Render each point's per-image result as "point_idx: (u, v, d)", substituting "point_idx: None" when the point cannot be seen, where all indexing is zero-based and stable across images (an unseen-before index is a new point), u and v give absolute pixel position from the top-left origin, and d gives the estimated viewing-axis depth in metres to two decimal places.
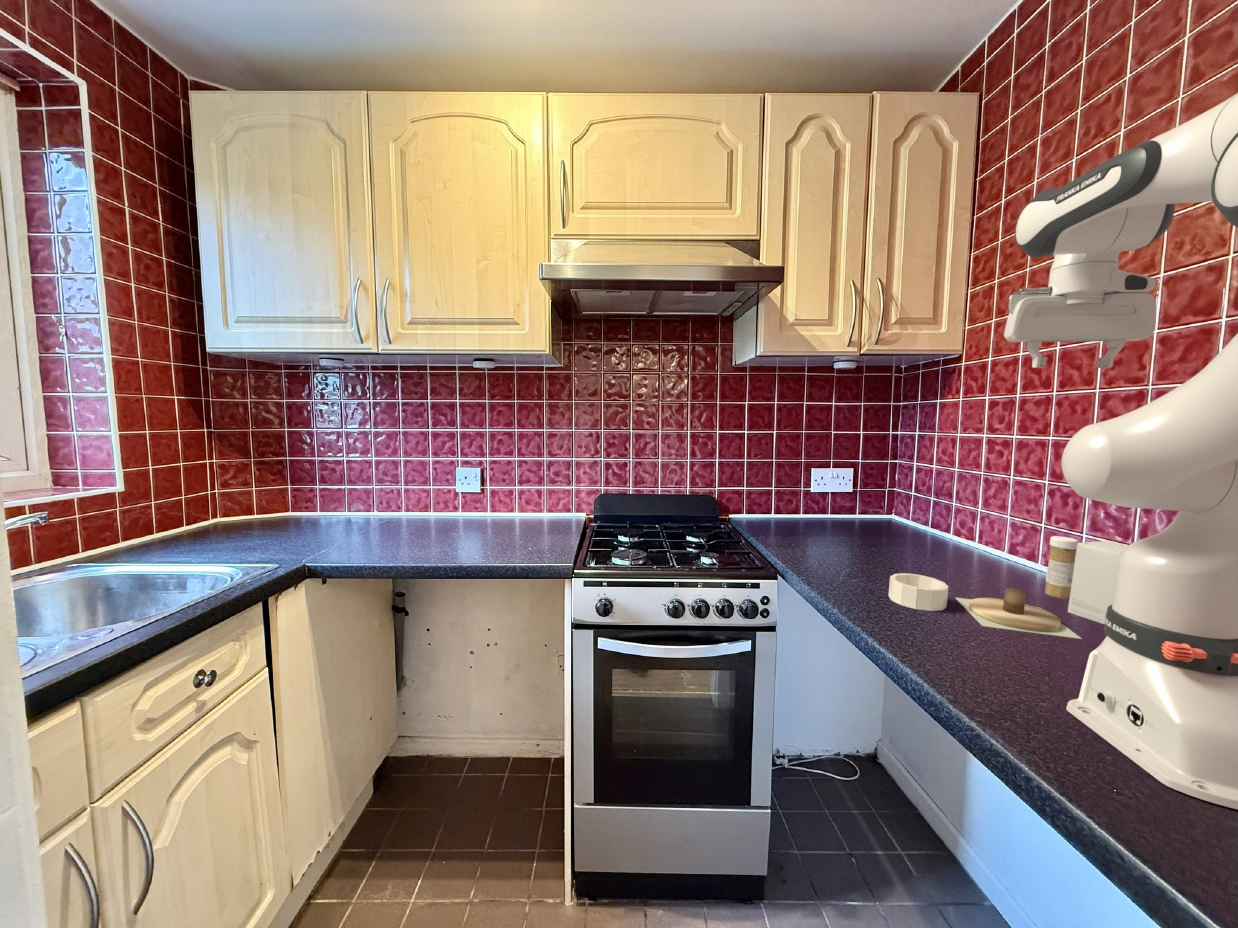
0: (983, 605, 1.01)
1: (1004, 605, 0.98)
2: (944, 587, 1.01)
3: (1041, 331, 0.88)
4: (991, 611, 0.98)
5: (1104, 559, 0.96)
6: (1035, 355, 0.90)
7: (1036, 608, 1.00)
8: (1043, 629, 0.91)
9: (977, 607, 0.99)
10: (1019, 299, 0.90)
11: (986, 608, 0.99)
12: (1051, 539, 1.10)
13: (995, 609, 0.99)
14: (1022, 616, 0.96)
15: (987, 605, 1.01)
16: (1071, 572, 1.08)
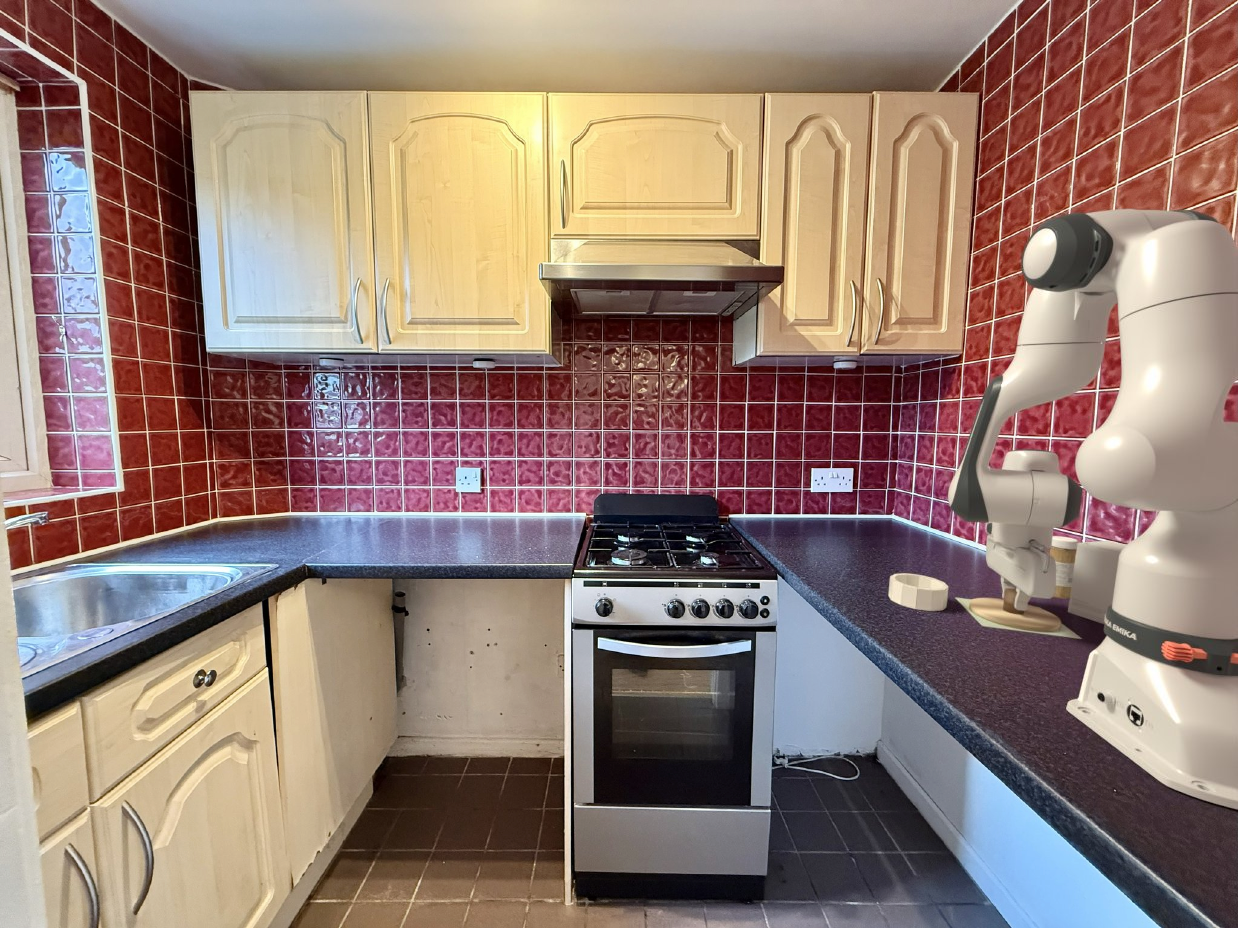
0: (983, 605, 1.01)
1: (1004, 605, 0.98)
2: (944, 587, 1.01)
3: None
4: (991, 611, 0.98)
5: (1104, 559, 0.96)
6: (1028, 600, 0.94)
7: (1036, 608, 1.00)
8: (1043, 629, 0.91)
9: (977, 607, 0.99)
10: None
11: (986, 608, 0.99)
12: None
13: (995, 609, 0.99)
14: (1022, 616, 0.96)
15: (987, 605, 1.01)
16: (1071, 572, 1.08)
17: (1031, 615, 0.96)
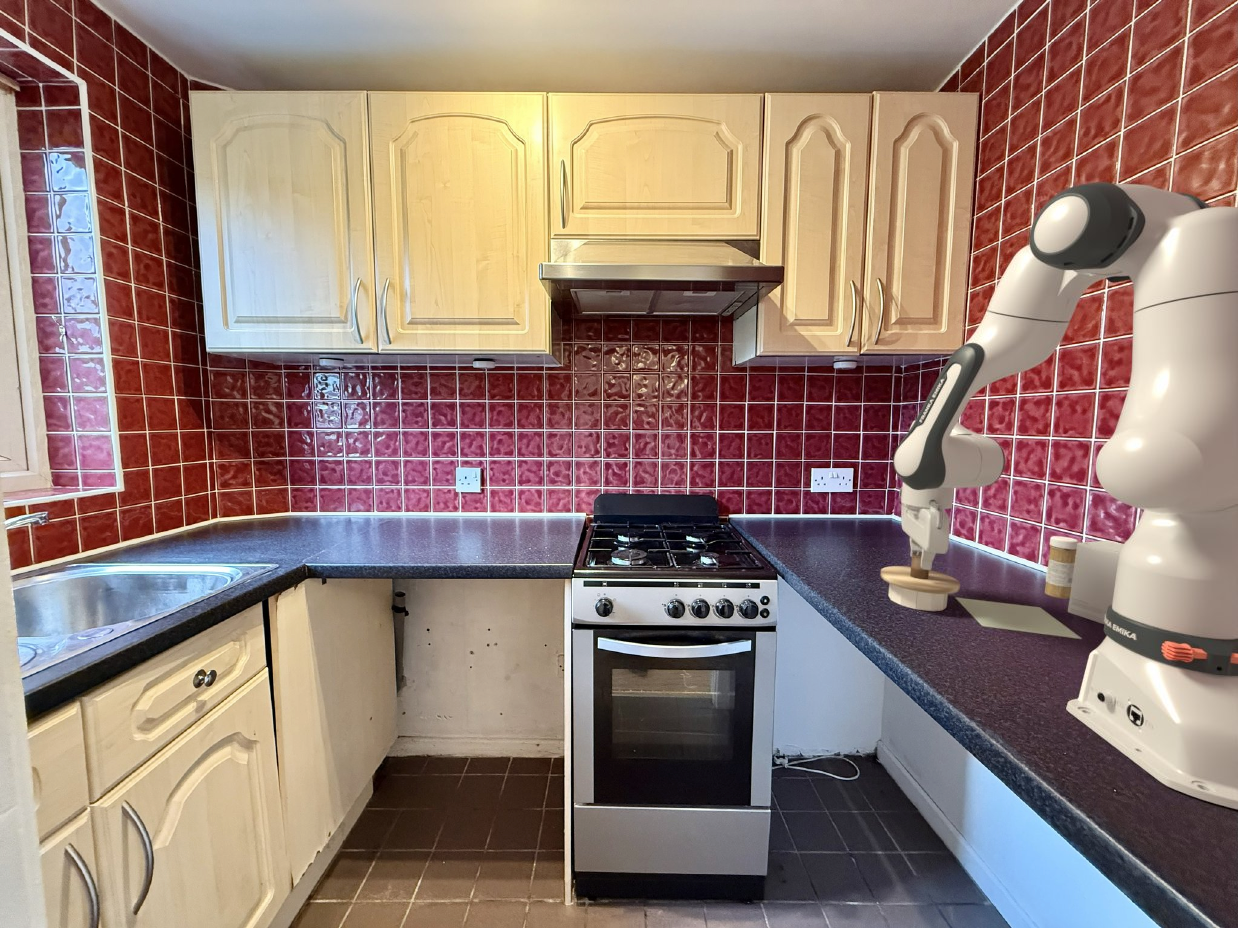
0: (893, 572, 1.07)
1: (911, 571, 1.04)
2: None
3: None
4: (898, 576, 1.04)
5: (1104, 559, 0.96)
6: (932, 560, 0.99)
7: (942, 574, 1.06)
8: (940, 591, 0.97)
9: (886, 574, 1.05)
10: None
11: (894, 574, 1.05)
12: (1051, 539, 1.10)
13: (902, 575, 1.05)
14: (925, 580, 1.02)
15: (896, 572, 1.07)
16: (1071, 572, 1.08)
17: (934, 580, 1.02)
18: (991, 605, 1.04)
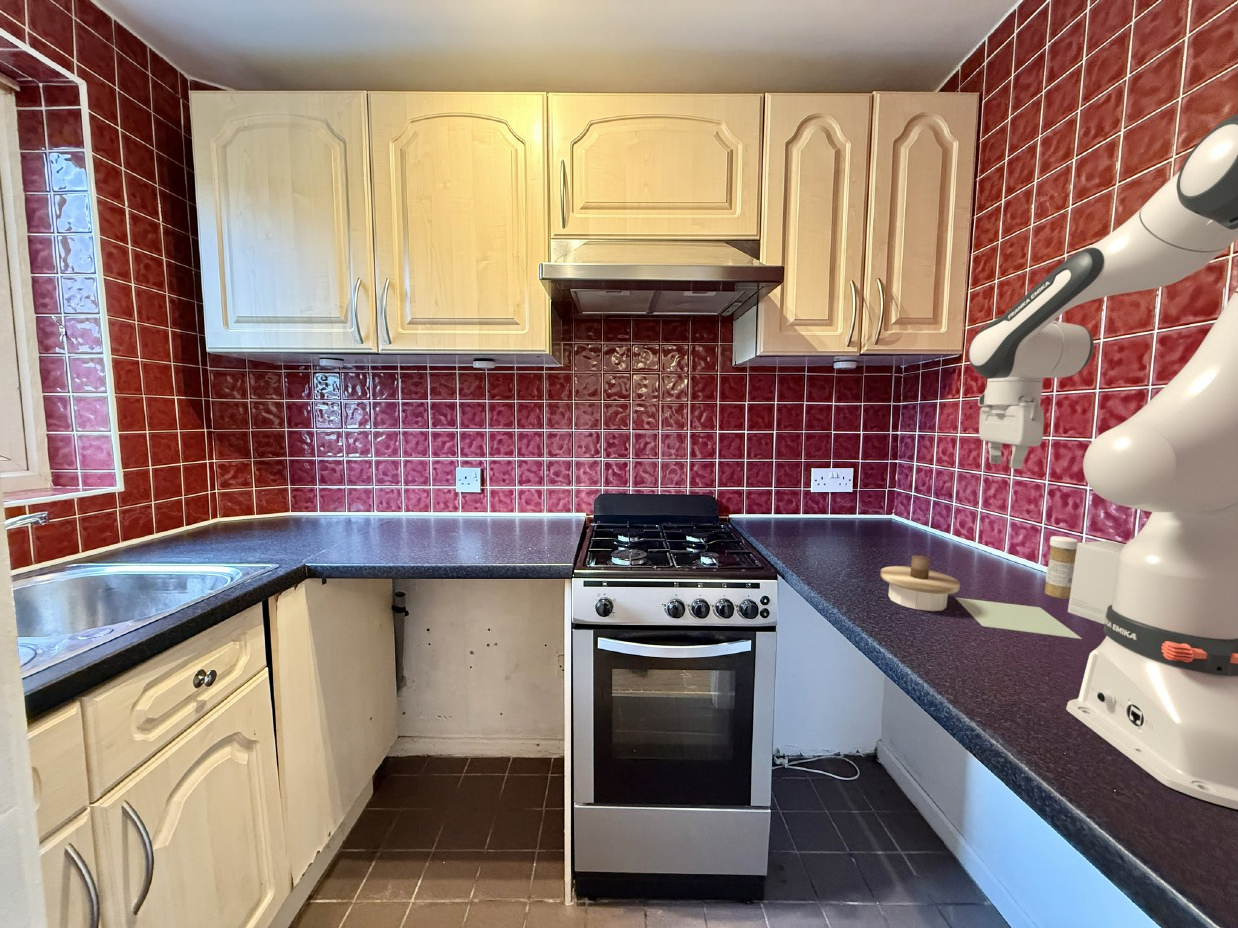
0: (893, 572, 1.07)
1: (911, 571, 1.04)
2: None
3: None
4: (898, 576, 1.04)
5: (1104, 559, 0.96)
6: (1023, 458, 0.97)
7: (942, 574, 1.06)
8: (940, 591, 0.97)
9: (886, 574, 1.05)
10: None
11: (894, 574, 1.05)
12: (1051, 539, 1.10)
13: (902, 575, 1.05)
14: (925, 580, 1.02)
15: (896, 572, 1.07)
16: (1071, 572, 1.08)
17: (934, 580, 1.02)
18: (991, 605, 1.04)
